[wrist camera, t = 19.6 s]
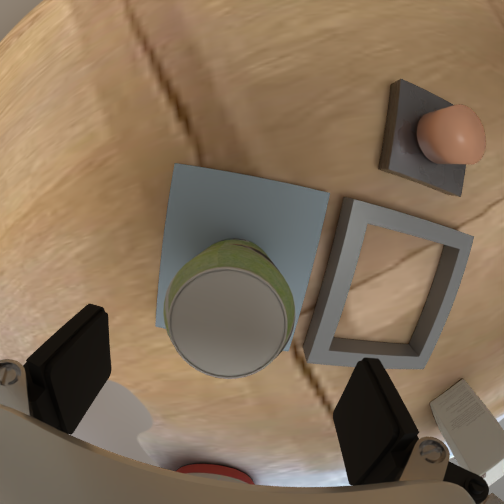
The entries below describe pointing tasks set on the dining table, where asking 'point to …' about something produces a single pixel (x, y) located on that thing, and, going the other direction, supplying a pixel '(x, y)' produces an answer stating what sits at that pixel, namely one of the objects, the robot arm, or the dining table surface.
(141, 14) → the dining table surface
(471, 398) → the skincare box
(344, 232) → the frame
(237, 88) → the dining table surface
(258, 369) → the beverage can
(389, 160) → the button base
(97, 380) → the robot arm
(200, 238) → the mat
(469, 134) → the button
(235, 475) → the citrus juicer
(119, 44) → the dining table surface
